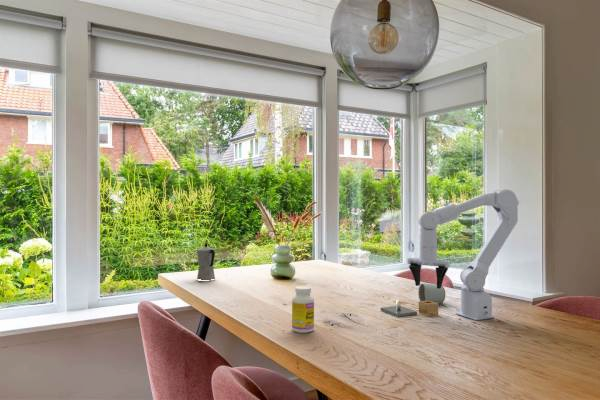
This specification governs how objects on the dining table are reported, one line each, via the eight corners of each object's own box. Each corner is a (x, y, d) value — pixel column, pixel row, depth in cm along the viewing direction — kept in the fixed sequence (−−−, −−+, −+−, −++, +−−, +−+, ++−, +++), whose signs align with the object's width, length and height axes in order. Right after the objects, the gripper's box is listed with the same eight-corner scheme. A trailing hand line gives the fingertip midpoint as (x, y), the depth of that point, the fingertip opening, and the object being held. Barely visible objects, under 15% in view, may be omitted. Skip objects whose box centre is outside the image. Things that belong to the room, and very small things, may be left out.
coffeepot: (191, 279, 223) (191, 242, 223) (208, 277, 228) (208, 241, 228) (204, 283, 210) (204, 245, 210) (223, 281, 216) (222, 244, 216)
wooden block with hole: (438, 314, 153) (438, 303, 153) (427, 316, 151) (427, 304, 151) (429, 311, 157) (429, 300, 157) (418, 313, 155) (418, 301, 155)
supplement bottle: (306, 334, 130) (306, 290, 130) (287, 331, 134) (287, 288, 134) (318, 329, 136) (318, 286, 136) (299, 326, 140) (299, 284, 140)
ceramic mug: (446, 305, 167) (446, 284, 167) (426, 306, 165) (425, 285, 166) (434, 299, 177) (434, 280, 177) (414, 300, 176) (414, 280, 176)
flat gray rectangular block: (417, 314, 153) (417, 302, 153) (398, 317, 150) (398, 305, 150) (399, 308, 162) (399, 297, 162) (380, 310, 159) (380, 299, 159)
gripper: (453, 247, 152) (453, 287, 152) (413, 244, 161) (413, 282, 161) (445, 249, 147) (445, 290, 147) (404, 246, 156) (404, 285, 156)
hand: (428, 286), depth 154 cm, fingers open, 7 cm apart
